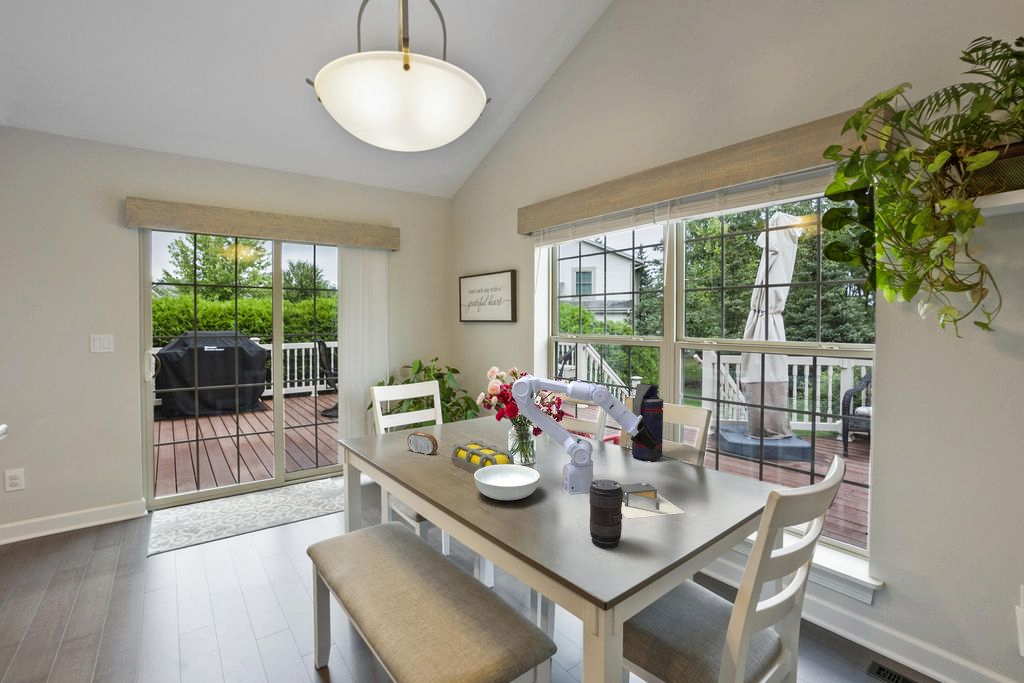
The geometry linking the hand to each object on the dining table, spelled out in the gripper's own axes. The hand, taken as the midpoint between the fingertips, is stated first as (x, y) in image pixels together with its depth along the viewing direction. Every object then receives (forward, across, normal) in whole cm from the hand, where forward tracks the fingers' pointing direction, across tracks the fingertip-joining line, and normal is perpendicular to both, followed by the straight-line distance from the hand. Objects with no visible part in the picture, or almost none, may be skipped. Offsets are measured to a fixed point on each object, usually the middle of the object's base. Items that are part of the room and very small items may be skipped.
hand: (654, 444), depth 152 cm
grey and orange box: (+7, -7, +15) cm, 18 cm away
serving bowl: (-23, -13, +42) cm, 50 cm away
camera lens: (+1, -37, +20) cm, 42 cm away
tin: (-56, +24, +75) cm, 96 cm away
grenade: (+11, +40, +15) cm, 44 cm away
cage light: (-34, +11, +54) cm, 65 cm away
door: (+8, -14, +14) cm, 21 cm away
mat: (+8, -10, +14) cm, 19 cm away
